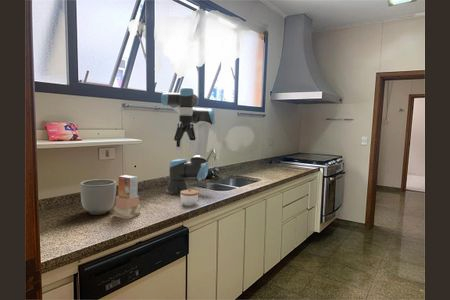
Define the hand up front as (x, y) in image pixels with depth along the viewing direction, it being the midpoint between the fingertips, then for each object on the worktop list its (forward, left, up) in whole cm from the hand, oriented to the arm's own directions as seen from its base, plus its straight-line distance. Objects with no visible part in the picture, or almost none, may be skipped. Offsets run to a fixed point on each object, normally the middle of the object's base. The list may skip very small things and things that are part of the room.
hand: (185, 151), depth 164 cm
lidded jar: (-3, +2, -32) cm, 32 cm away
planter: (+34, -31, -32) cm, 56 cm away
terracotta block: (+30, -16, -27) cm, 43 cm away
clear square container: (+30, -15, -32) cm, 46 cm away
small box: (+30, -15, -22) cm, 40 cm away
